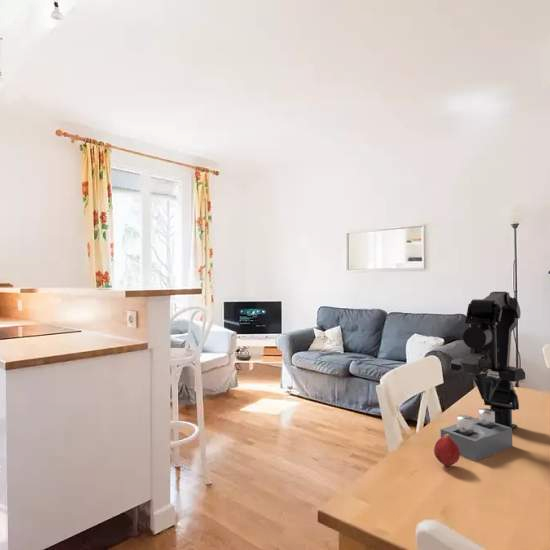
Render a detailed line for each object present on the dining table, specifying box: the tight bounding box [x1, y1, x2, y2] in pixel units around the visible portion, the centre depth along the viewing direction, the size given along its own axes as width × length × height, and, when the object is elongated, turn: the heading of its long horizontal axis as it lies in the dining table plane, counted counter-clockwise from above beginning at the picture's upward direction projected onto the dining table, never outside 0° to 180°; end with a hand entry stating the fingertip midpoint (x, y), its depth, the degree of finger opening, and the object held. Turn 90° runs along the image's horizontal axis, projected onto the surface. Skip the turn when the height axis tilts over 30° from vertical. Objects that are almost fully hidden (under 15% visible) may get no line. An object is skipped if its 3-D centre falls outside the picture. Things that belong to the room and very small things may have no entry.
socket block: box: [440, 417, 513, 462], centre depth 110 cm, size 17×10×5 cm, turn 121°
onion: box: [433, 434, 461, 468], centre depth 98 cm, size 6×6×8 cm
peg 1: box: [456, 414, 474, 437], centre depth 107 cm, size 4×4×5 cm
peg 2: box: [478, 407, 495, 429], centre depth 112 cm, size 4×4×5 cm
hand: (486, 399), depth 112 cm, fingers closed
